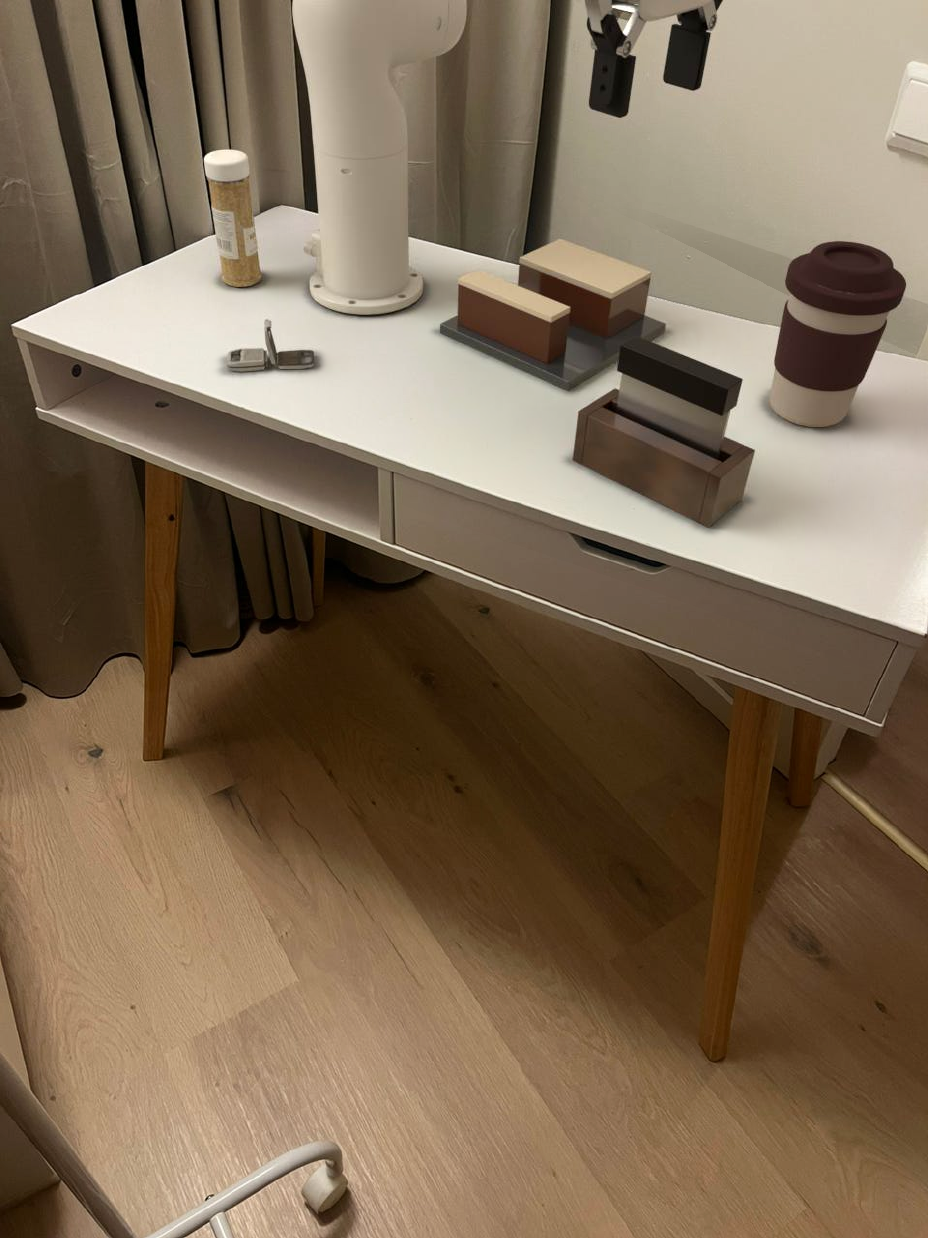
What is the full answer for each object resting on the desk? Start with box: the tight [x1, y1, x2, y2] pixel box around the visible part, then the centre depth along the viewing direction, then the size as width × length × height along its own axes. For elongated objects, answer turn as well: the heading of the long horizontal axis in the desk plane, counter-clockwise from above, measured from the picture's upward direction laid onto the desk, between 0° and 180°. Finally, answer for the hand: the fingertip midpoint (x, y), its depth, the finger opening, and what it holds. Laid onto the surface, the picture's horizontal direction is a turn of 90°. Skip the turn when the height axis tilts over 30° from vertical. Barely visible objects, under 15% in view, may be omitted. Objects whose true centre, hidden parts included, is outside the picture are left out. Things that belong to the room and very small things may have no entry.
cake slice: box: [457, 269, 570, 364], centre depth 100 cm, size 12×3×5 cm, turn 48°
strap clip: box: [226, 319, 316, 373], centre depth 97 cm, size 8×3×4 cm, turn 98°
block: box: [572, 387, 756, 528], centre depth 84 cm, size 14×5×5 cm, turn 48°
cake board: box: [439, 238, 667, 392], centre depth 103 cm, size 17×17×6 cm
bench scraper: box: [616, 336, 743, 460], centre depth 82 cm, size 10×2×11 cm, turn 48°
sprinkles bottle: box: [203, 149, 263, 288], centre depth 108 cm, size 5×5×13 cm
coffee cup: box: [769, 240, 907, 428], centre depth 90 cm, size 10×10×15 cm
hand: (645, 98), depth 75 cm, fingers open, 9 cm apart
